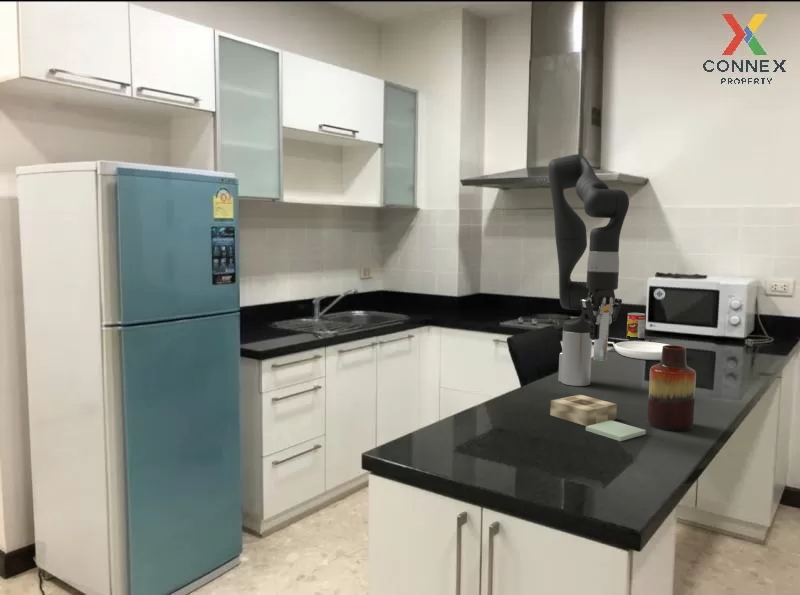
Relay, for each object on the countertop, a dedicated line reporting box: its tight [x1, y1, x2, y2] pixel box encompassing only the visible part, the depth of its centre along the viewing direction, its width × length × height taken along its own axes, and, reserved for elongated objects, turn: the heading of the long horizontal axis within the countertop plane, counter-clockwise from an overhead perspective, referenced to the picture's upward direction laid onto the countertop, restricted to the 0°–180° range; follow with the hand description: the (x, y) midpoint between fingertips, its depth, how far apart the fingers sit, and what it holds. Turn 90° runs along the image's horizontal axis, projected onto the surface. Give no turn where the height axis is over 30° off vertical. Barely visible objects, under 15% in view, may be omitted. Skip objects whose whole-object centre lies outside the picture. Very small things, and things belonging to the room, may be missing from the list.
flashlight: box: [592, 304, 610, 362], centre depth 161 cm, size 3×3×14 cm
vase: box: [646, 344, 697, 433], centre depth 164 cm, size 11×11×20 cm
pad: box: [585, 420, 646, 442], centre depth 158 cm, size 10×10×1 cm
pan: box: [592, 339, 669, 361], centre depth 264 cm, size 25×39×4 cm, turn 60°
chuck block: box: [549, 394, 618, 427], centre depth 171 cm, size 12×12×4 cm
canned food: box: [626, 312, 647, 339], centre depth 303 cm, size 8×8×12 cm
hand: (599, 338), depth 161 cm, fingers closed on flashlight, 3 cm apart
